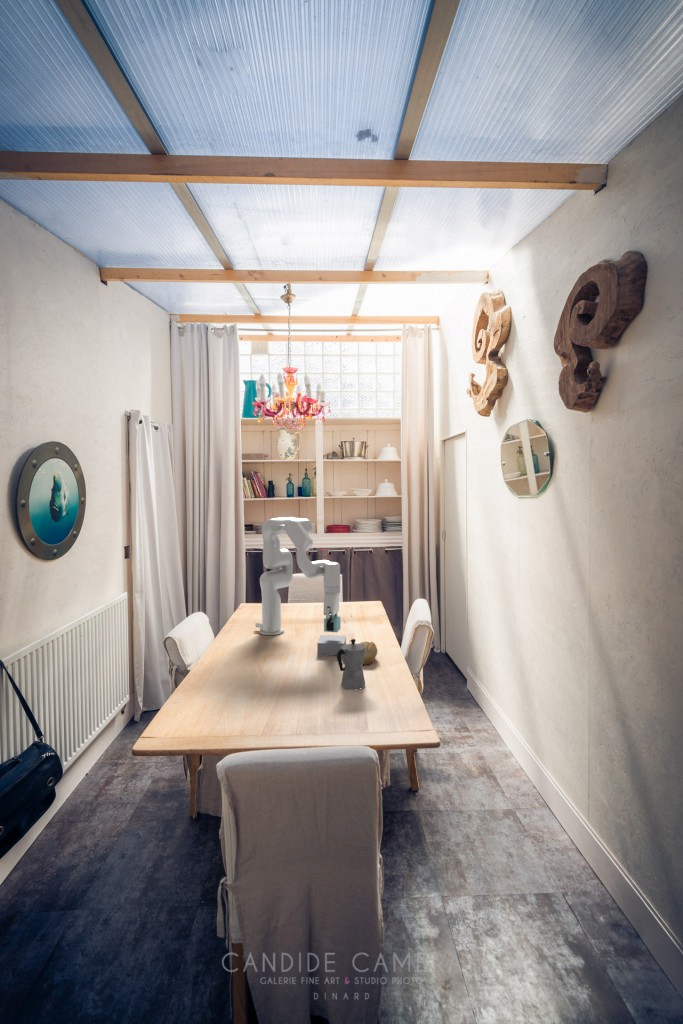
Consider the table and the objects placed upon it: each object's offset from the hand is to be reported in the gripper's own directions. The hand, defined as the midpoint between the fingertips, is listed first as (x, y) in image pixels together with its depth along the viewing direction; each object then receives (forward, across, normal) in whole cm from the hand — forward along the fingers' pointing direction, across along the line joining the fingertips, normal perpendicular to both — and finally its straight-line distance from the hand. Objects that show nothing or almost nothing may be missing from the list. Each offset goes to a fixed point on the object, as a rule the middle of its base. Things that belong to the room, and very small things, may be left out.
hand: (332, 628), depth 243 cm
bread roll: (+11, +7, +18) cm, 22 cm away
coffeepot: (+11, +37, +19) cm, 43 cm away
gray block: (+11, 0, 0) cm, 11 cm away
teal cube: (+1, 0, 0) cm, 1 cm away
